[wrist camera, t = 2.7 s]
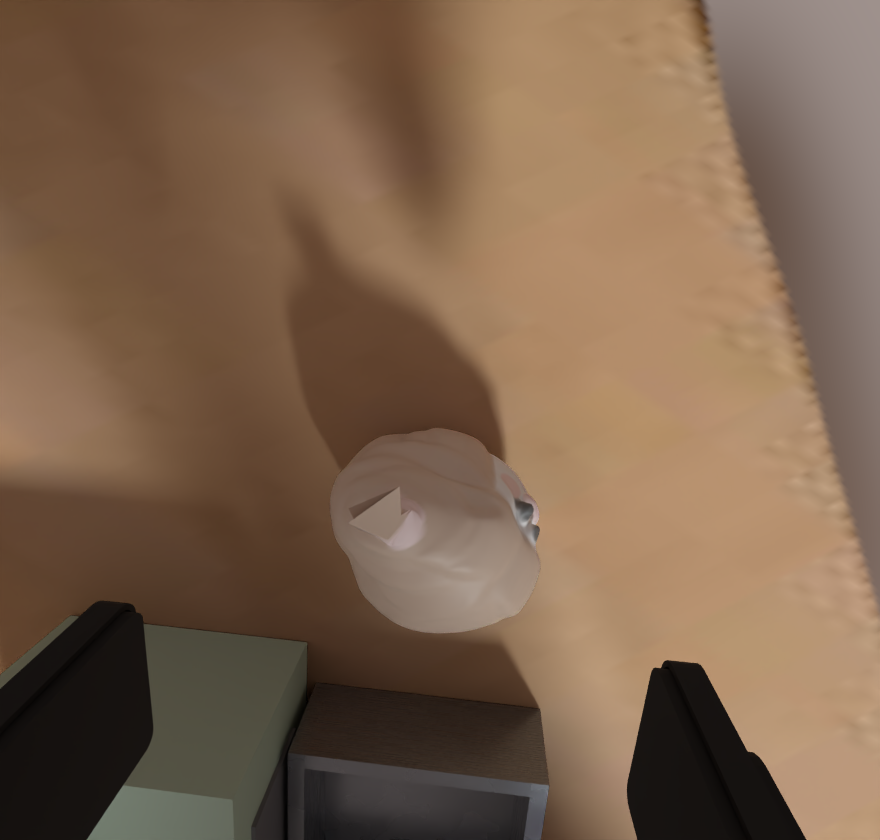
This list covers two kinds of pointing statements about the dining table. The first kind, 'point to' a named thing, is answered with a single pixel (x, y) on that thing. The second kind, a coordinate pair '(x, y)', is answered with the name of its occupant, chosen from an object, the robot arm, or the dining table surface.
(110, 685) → the robot arm
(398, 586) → the garlic bulb
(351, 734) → the gray square open box
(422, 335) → the dining table surface
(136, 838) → the green block with dome
